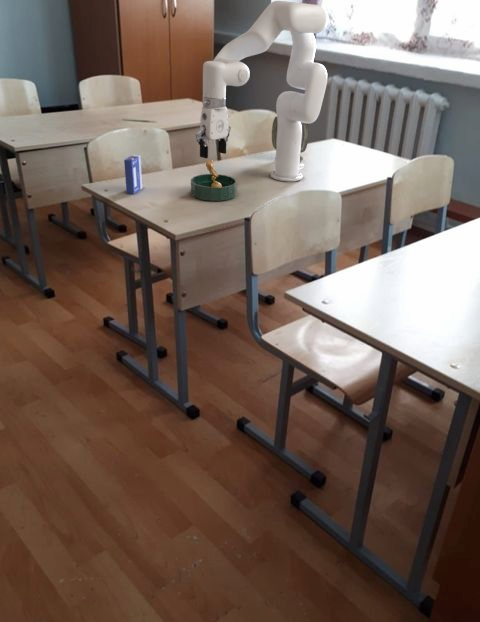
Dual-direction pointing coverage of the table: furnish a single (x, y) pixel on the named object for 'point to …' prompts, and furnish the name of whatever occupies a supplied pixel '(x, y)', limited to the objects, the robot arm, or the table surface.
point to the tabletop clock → (303, 141)
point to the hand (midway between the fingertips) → (213, 155)
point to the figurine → (213, 173)
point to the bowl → (206, 192)
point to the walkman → (133, 174)
